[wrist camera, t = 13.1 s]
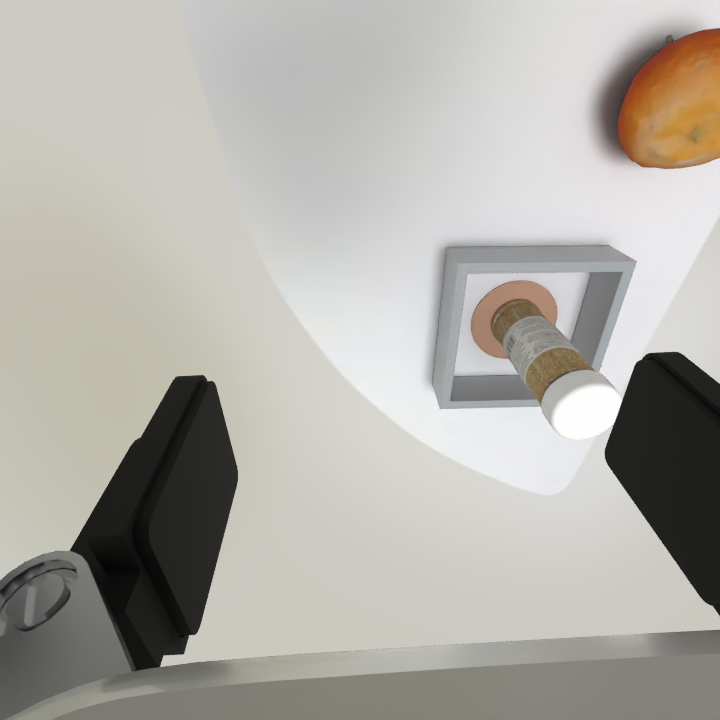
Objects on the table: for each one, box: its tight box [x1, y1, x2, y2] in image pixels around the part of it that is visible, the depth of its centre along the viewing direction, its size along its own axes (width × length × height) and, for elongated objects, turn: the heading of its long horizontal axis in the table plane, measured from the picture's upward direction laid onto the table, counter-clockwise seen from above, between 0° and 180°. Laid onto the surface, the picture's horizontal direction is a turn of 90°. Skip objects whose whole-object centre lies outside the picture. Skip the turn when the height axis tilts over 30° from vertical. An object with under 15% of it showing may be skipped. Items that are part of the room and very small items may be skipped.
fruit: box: [618, 28, 720, 169], centre depth 29 cm, size 8×8×8 cm
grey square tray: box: [432, 245, 637, 409], centre depth 38 cm, size 14×14×4 cm
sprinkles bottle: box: [491, 300, 622, 439], centre depth 34 cm, size 5×5×14 cm
